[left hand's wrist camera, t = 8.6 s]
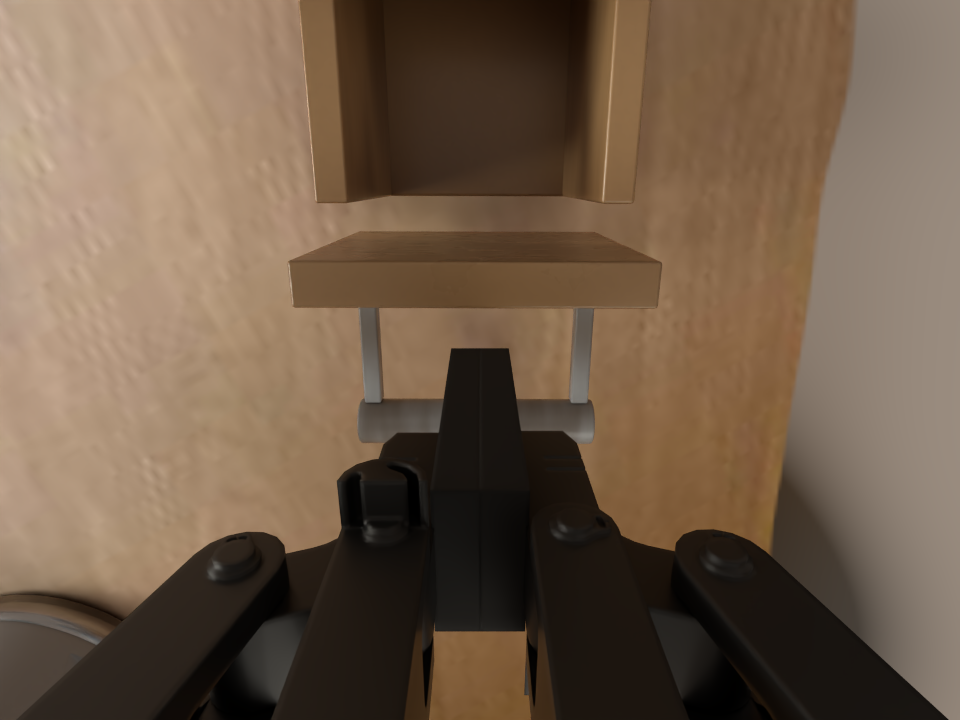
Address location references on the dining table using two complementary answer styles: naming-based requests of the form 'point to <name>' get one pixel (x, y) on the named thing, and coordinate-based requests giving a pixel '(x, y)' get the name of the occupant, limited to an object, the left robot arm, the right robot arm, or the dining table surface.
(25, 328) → the dining table surface
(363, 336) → the drawer
